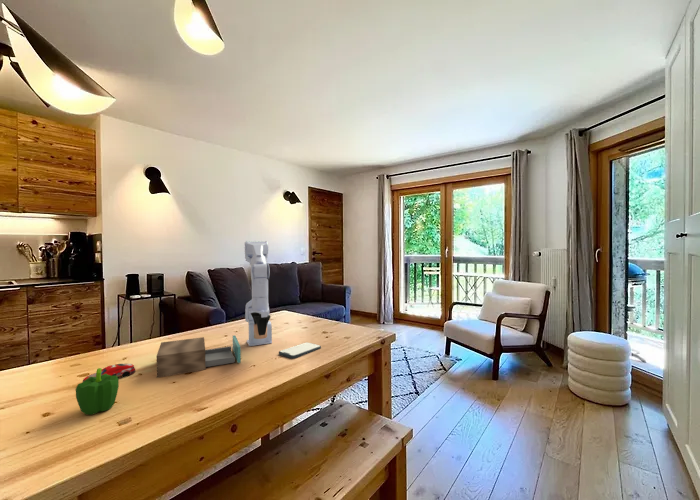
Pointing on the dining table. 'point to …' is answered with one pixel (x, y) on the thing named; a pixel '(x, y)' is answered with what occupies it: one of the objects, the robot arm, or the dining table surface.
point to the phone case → (299, 350)
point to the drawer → (223, 354)
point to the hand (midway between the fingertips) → (260, 333)
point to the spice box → (181, 357)
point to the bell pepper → (97, 393)
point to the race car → (116, 370)
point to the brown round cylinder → (258, 334)
